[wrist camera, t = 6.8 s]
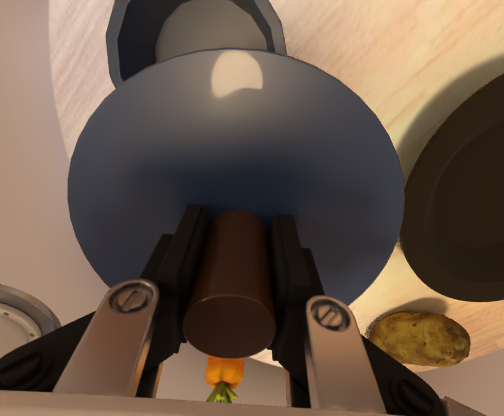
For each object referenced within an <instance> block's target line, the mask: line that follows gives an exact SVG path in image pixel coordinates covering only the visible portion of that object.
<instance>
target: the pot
mask: <svg viewBox="0 0 504 416" xmlns="http://www.w3.org/2000/svg"><path fill="white" fill-rule="evenodd" d="M106 45H107V55H108V64H109V74H110V78H111V80H112V82H113V84H114V86H115V88H117V87H119V86H120V85H121V84H122V83H123V82H124V81H126V80H127V79H129V78H131V77H132V76H134V75H135V74H137V73H139V72H140V71H142V70H143V69H145V68H147V67H149V66H151V65H154V64H156V63H158V62H161V61H163V60H165V59H168V58H170V57H173V56H177V55H181V54H185V53H189V52H193V51H197V50H202V49H214V48H226V47H235V48H250V49H261V50H266V51H270V52H274V53H279V54H283V55H287V52H286V46H285V40H284V35H283V29H282V24H281V21H280V19H279V17H278V16H277V14H276V12H275V11H274V9H273V7H272V5H271V4H270V2H269V0H115V2H114V6H113V10H112V13H111V17H110V21H109V24H108V28H107V32H106Z"/></svg>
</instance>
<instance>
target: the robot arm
mask: <svg viewBox="0 0 504 416" xmlns="http://www.w3.org/2000/svg"><path fill="white" fill-rule="evenodd" d="M206 230H207V209H203V206H202V205H195V204H188V205H187V208H186V210H185V212H184V214H183V216H182V219H181V221H180V223H179V225H178V227H177V230H176V232H175V234H162V236H161V237H160V239H159V241H158V243H157V245H156V247H155V249H154V251H153V253H152V254H151V256H150V258H149V260H148V262H147V264H146V266H145V268H144V270H143V272H142V273H141V275H140V277H139V278H134V279H128V280H125V281H122V282H120V283H118V284H116V285H114V286H113V287H112V288H111V289H110V290H109V291H108V292H107V293H106V295H105V296H104V298H103V300H102V301H101V303H100V305H99V307H98V309H97V311H94V312H92V313H90V314H88V315H86V316H84V317H82V318H79V319H77V320H75V321H73V322H71V323H69V324H67V325H65V326H62V327H60V328H58V329H56V330H54V331H52V332H50V333H48V334H46V335H43V336H41V331H40V329H39V327H38V325H37V324H36V323H35V321H34V320H33V319H32V318H30V317H29V316H28V315H27V314H25V313H23V312H22V311H20V310H18V309H16V308H14V307H12V306H9V305H6V304H3V303H0V416H486V415H484V414H482V413H480V412H478V411H476V410H473V409H471V408H469V407H467V406H465V405H463V404H461V403H459V402H456V401H454V400H453V399H451V398H448V397H446V396H445V397H444V398H443V400H442V399H440V398H439V396H438V395H437V394H436V392H435V391H434V390H433V389H432V388H431V387H430V386H429V385H428V384H427V383H426V382H425V381H423V379H421V378H420V377H419V376H417V375H416V374H415V373H413V372H412V371H410V370H409V369H408V368H406V367H405V366H404V365H402V364H401V363H400V362H398V361H397V360H395V359H394V358H393V357H391V356H390V355H389V354H387V353H386V352H385V351H383V350H382V349H380V348H379V347H378V346H376V345H375V344H374V343H372V342H371V341H370V340H368V339H367V338H365V337H364V336H363V335H361V334H360V331H359V328H358V325H357V322H356V319H355V317H354V315H353V313H352V311H351V310H350V309H349V307H348V306H347V305H346V304H344V303H343V302H342V301H340V300H338V299H336V298H334V297H331V296H327V295H325V293H324V289H323V286H322V283H321V280H320V277H319V274H318V270H317V267H316V264H315V261H314V258H313V255H312V252H311V249H309V248H301V244H300V241H299V237H298V233H297V230H296V226H295V222H294V218H293V215H287V214H278V217H273V219H272V224H271V230H270V235H269V246H270V256H271V266H272V276H273V286H274V297H275V307H276V317H277V333H276V336H275V338H274V340H273V342H272V343H271V344H270V345H269V346H268V347H267V350H272V359H273V361H278V362H279V363H280V364H281V365H282V366H283V367H284V368H285V369H286V375H285V377H286V399H287V407H278V406H264V405H248V404H233V403H218V402H201V401H188V400H172V399H156V398H155V397H156V392H157V388H158V383H159V379H160V374H161V370H162V366H163V361H164V360H166V359H167V358H169V357H170V356H171V355H173V353H178V352H179V348H180V344H181V343H187V339H186V338H185V336H184V334H183V331H182V319H183V315H184V311H185V308H186V304H187V301H188V297H189V293H190V290H191V286H192V282H193V279H194V275H195V271H196V268H197V264H198V260H199V257H200V253H201V249H202V246H203V242H204V238H205V234H206Z"/></svg>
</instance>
